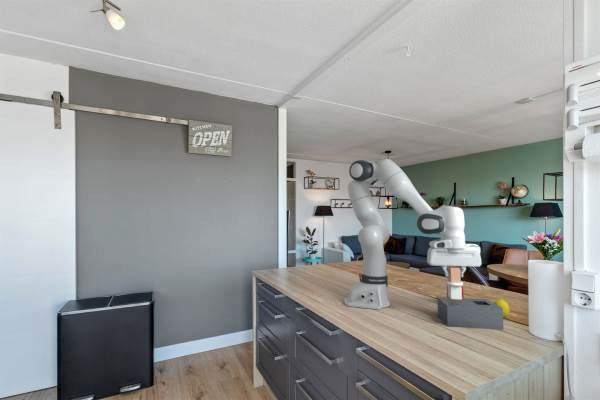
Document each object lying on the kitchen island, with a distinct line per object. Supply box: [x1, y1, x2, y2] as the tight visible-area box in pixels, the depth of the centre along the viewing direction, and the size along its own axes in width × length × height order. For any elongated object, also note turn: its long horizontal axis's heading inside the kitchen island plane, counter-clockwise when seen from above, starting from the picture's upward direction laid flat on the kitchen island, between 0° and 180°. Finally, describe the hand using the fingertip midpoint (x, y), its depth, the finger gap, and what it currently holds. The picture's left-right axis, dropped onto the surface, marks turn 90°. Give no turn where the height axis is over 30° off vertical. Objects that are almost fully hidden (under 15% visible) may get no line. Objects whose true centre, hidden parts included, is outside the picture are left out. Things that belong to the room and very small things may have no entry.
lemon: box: [493, 298, 511, 319], centre depth 119 cm, size 6×6×8 cm
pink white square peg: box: [445, 266, 464, 299], centre depth 116 cm, size 6×6×12 cm
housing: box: [436, 296, 504, 331], centre depth 115 cm, size 20×12×8 cm, turn 81°
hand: (454, 276), depth 116 cm, fingers closed on pink white square peg, 4 cm apart
